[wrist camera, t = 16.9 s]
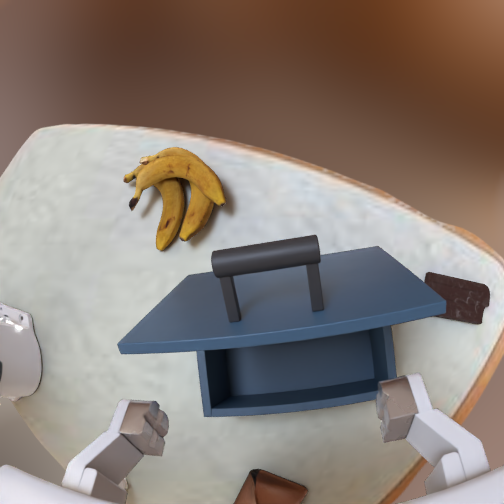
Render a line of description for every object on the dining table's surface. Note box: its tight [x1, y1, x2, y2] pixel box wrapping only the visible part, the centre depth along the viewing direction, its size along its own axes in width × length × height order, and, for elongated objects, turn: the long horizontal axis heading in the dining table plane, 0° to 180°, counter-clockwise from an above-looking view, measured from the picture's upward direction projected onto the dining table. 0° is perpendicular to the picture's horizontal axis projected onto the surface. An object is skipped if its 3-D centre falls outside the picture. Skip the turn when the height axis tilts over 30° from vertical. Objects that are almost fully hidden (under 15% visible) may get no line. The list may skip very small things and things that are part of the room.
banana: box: [124, 147, 226, 251], centre depth 44 cm, size 15×19×6 cm
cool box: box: [197, 325, 397, 417], centre depth 35 cm, size 15×20×9 cm
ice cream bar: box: [424, 272, 490, 324], centre depth 36 cm, size 5×2×15 cm
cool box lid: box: [117, 235, 446, 354], centre depth 24 cm, size 16×20×5 cm
